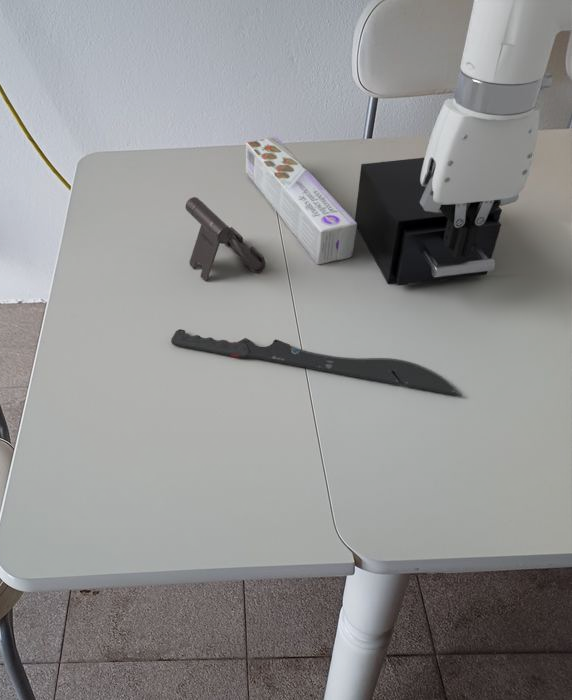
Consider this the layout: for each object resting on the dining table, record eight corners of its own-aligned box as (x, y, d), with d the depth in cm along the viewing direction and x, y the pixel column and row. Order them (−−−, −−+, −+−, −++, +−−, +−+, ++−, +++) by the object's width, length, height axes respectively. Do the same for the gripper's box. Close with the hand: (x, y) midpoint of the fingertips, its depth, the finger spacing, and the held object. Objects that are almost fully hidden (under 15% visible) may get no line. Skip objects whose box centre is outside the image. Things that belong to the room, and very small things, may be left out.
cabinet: (484, 272, 82) (502, 209, 76) (387, 284, 81) (398, 221, 75) (439, 213, 93) (452, 154, 87) (354, 223, 92) (361, 163, 86)
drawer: (503, 297, 77) (519, 245, 72) (410, 308, 76) (421, 256, 71) (444, 218, 90) (455, 170, 85) (364, 227, 89) (371, 179, 84)
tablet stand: (266, 271, 84) (266, 215, 78) (213, 291, 82) (209, 234, 76) (232, 239, 90) (231, 185, 84) (182, 257, 87) (176, 202, 82)
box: (354, 257, 86) (358, 220, 82) (318, 266, 84) (320, 229, 81) (275, 168, 105) (275, 134, 101) (244, 174, 104) (244, 140, 100)
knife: (462, 372, 69) (464, 368, 69) (461, 400, 66) (462, 396, 66) (182, 323, 77) (181, 319, 76) (169, 345, 74) (169, 342, 74)
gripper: (550, 70, 66) (503, 226, 78) (408, 82, 64) (383, 239, 77) (591, 98, 60) (533, 262, 72) (436, 112, 59) (404, 276, 71)
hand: (456, 250), depth 75 cm, fingers closed
